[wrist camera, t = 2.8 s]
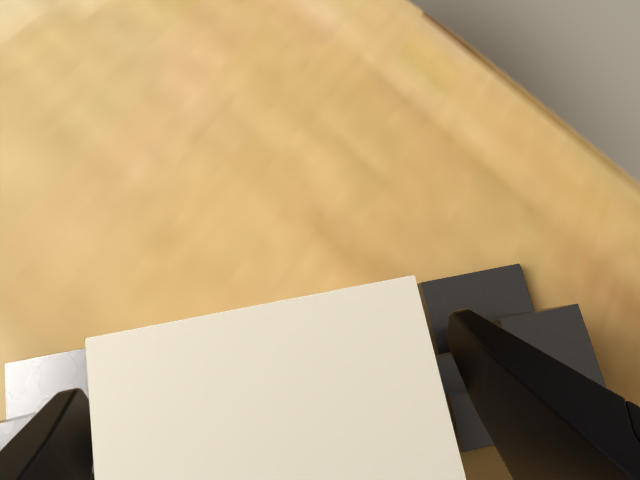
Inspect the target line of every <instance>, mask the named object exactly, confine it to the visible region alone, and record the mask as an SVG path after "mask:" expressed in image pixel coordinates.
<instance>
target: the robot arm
mask: <svg viewBox="0 0 640 480" xmlns="http://www.w3.org/2000/svg"><path fill="white" fill-rule="evenodd" d="M447 341H448V346H449V349H450V351H451V354H452V356H453V358H454V361H455V363H456V366H457V368H458V370H459V373H460V375H461V378H462V380H463V382H464V385H465V387H466V389H467V392H468V394H469V397H470V399H471V401H472V403H473V406H474V408H475V410H476V412H477V414H478V416H479V418H480V420H481V421H482V423H483V425H484V427H485V429H486V431H487V432H488V434H489V436H490V438H491V440H492V441H493V443H494V445H495V447H496V449H497V450H498V452H499V454H500V456H501V458H502V459H503V461H504V463H505V465H506V467H507V468H508V470H509V472H510V474H511V476H512V477H513V479H514V480H640V407H639V406H637V405H635V404H633V403H632V402H630V401H625V399H624V398H623V397H621V396H619V395H618V394H616V393H614V392H612V391H611V390H609V389H607V388H605V387H604V386H602V385H600V384H599V383H597V382H595V381H593V380H592V379H590V378H588V377H586V376H585V375H583V374H581V373H580V372H578V371H576V370H574V369H573V368H571V367H569V366H567V365H566V364H564V363H562V362H560V361H559V360H557V359H555V358H554V357H552V356H550V355H548V354H547V353H545V352H543V351H541V350H540V349H538V348H536V347H535V346H533V345H531V344H529V343H528V342H526V341H524V340H522V339H521V338H519V337H517V336H516V335H514V334H512V333H510V332H509V331H507V330H505V329H503V328H502V327H500V326H498V325H496V324H495V323H493V322H491V321H490V320H488V319H486V318H484V317H483V316H481V315H479V314H477V313H476V312H474V311H472V310H470V309H460V310H455V311H452V312H451V313H450V314H449V320H448V334H447ZM92 467H93V448H92V433H91V419H90V404H89V399H88V398H87V396H86V394H85V392H84V391H83V390H82V389H80V388H73V389H68V390H63V391H60V392H58V393H57V394H55V395H54V396H53V397H52V398H51V399H50V400H49V401H48V402H47V403H46V404H45V405H44V406H43V407H42V409H41V410H40V411H39V412H38V413H37V414H36V415H35V416H34V417H33V418H32V419H31V420H30V421H29V422H28V423H27V424H26V425H25V426H24V427H23V428H22V429H21V430H20V431H19V432H18V433H17V434H16V435H15V436H14V437H13V438H12V439H11V440H10V441H9V442H8V443H7V444H6V445H5V446H4V447H3V448H2V449H1V450H0V480H91V475H92Z"/></svg>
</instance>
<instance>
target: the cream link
mask: <svg viewBox="0 0 640 480" xmlns="http://www.w3.org/2000/svg"><path fill="white" fill-rule="evenodd" d="M85 346H86V361H87V375H88V390H89V404H90V419H91V433H92V448H93V462H94V477H95V480H466V477H465V473H464V469H463V465H462V461H461V457H460V453H459V449H458V445H457V441H456V437H455V433H454V429H453V425H452V421H451V418H450V414H449V410H448V406H447V402H446V398H445V394H444V390H443V386H442V382H441V378H440V374H439V370H438V366H437V362H436V358H435V354H434V350H433V346H432V342H431V338H430V334H429V330H428V326H427V322H426V318H425V314H424V310H423V306H422V302H421V298H420V294H419V290H418V286H417V283H416V279H415V275H411V276H406V277H401V278H396V279H391V280H385V281H380V282H375V283H370V284H365V285H359V286H354V287H349V288H344V289H339V290H333V291H328V292H323V293H318V294H313V295H307V296H302V297H297V298H292V299H287V300H282V301H276V302H271V303H266V304H261V305H256V306H250V307H245V308H240V309H235V310H230V311H224V312H219V313H214V314H209V315H204V316H199V317H193V318H188V319H183V320H178V321H173V322H167V323H162V324H157V325H152V326H147V327H141V328H136V329H131V330H126V331H121V332H115V333H110V334H105V335H100V336H95V337H90V338H85Z"/></svg>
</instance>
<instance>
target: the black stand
mask: <svg viewBox="0 0 640 480" xmlns="http://www.w3.org/2000/svg"><path fill="white" fill-rule="evenodd" d="M417 286H418V290H419V294H420V298H421V302H422V306H423V310H424V314H425V318H426V322H427V326H428V330H429V334H430V338H431V342H432V346H433V350H434V354H435V358H436V362H437V366H438V370H439V374H440V378H441V382H442V386H443V390H444V394H445V398H446V402H447V406H448V410H449V414H450V418H451V421H452V425H453V429H454V433H455V437H456V441H457V445H458V449H460V450H461V451H463V452H465V451H469V450H474V449H478V448H482V447H486V446H491V445H494V443H493V441H492V440H491V438H490V436H489V434H488V432H487V431H486V429H485V427H484V425H483V423H482V421H481V420H480V418H479V416H478V414H477V412H476V410H475V408H474V406H473V403H472V401H471V399H470V397H469V394H468V392H467V389H466V387H465V385H464V382H463V380H462V378H461V375H460V373H459V370H458V368H457V366H456V363H455V361H454V358H453V356H452V354H451V351H450V349H449V346H448V341H447V334H448V320H449V314H450V313H451V312H452V311H455V310H460V309H470V310H472V311H474V312H476V313H477V314H479V315H481V316H483V317H484V318H486V319H488V320H490V321H491V322H493V323H495V324H496V325H498V326H500V327H502V328H503V329H505V330H507V331H509V332H510V333H512V334H514V335H516V336H517V337H519V338H521V339H522V340H524V341H526V342H528V343H529V344H531V345H533V346H535V347H536V348H538V349H540V350H541V351H543V352H545V353H547V354H548V355H550V356H552V357H554V358H555V359H557V360H559V361H560V362H562V363H564V364H566V365H567V366H569V367H571V368H573V369H574V370H576V371H578V372H580V373H581V374H583V375H585V376H586V377H588V378H590V379H592V380H593V381H595V382H597V383H599V384H600V385H602V386H604V387H605V388H606V386H605V383H604V380H603V377H602V374H601V371H600V368H599V365H598V362H597V359H596V356H595V353H594V350H593V347H592V344H591V341H590V338H589V335H588V332H587V329H586V326H585V323H584V320H583V317H582V315H581V312H580V309H579V306H578V304H573V305H567V306H560V307H554V308H547V309H541V310H534V309H533V305H532V302H531V299H530V296H529V292H528V289H527V286H526V283H525V280H524V276H523V273H522V270H521V267H520V264H515V265H509V266H504V267H499V268H494V269H489V270H484V271H479V272H474V273H468V274H463V275H458V276H453V277H448V278H443V279H438V280H432V281H427V282H422V283H419V284H417ZM5 388H6V420H2V421H0V450H1V449H2V448H3V447H4V446H5V445H6V444H7V443H8V442H9V441H10V440H11V439H12V438H13V437H14V436H15V435H16V434H17V433H18V432H19V431H20V430H21V429H22V428H23V427H24V426H25V425H26V424H27V423H28V422H29V421H30V420H31V419H32V418H33V417H34V416H35V415H36V414H37V413H38V412H39V411H40V410H41V409H42V407H43V406H44V405H45V404H46V403H47V402H48V401H49V400H50V399H51V398H52V397H53V396H54V395H55V394H57V393H58V392H60V391H63V390H68V389H73V388H80V389H82V390H83V391H84V392H85V394H86V396H87V398H88V399H89V390H88V375H87V361H86V348H84V349H78V350H73V351H68V352H63V353H58V354H53V355H48V356H42V357H37V358H32V359H27V360H22V361H17V362H12V363H7V364H5ZM91 480H95V477H94V462H93V467H92V475H91Z"/></svg>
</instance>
